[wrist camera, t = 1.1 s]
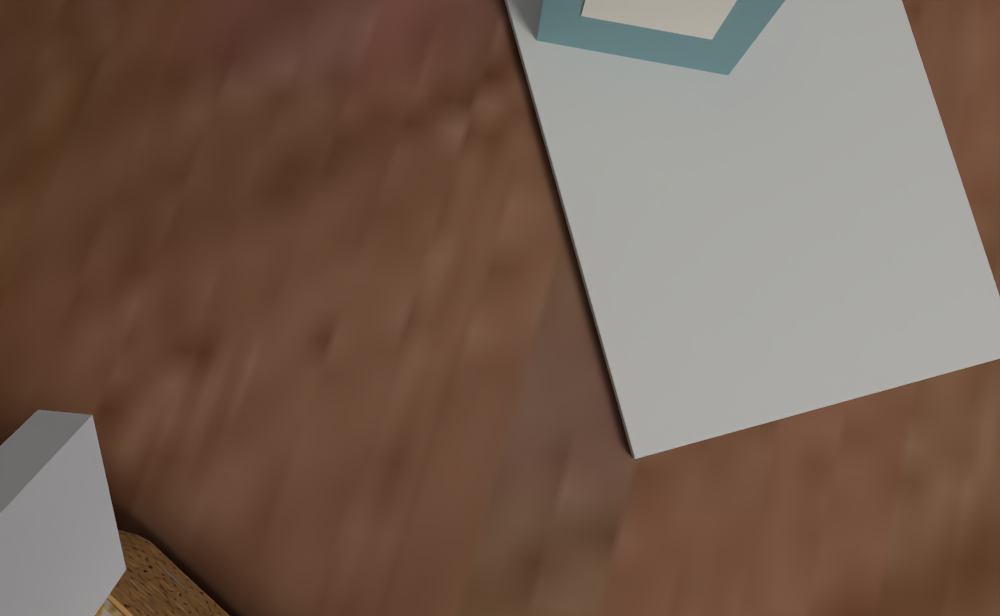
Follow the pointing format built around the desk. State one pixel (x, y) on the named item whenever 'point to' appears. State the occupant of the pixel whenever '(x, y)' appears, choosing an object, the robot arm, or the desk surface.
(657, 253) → the mat
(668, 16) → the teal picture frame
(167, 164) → the desk surface
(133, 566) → the device
